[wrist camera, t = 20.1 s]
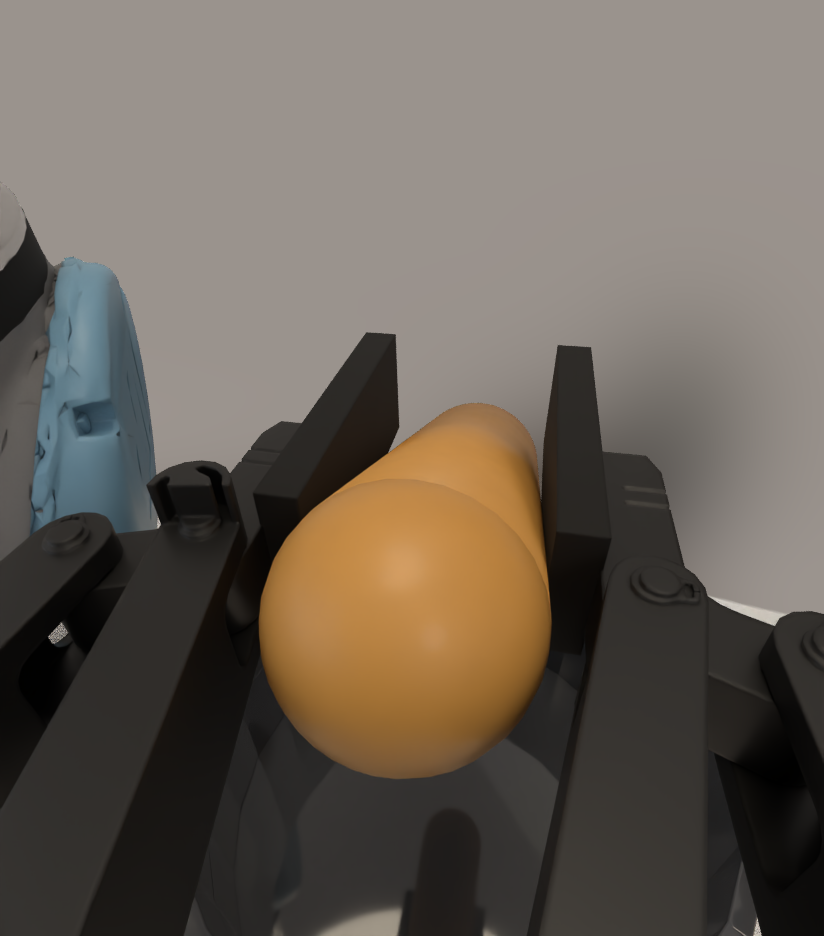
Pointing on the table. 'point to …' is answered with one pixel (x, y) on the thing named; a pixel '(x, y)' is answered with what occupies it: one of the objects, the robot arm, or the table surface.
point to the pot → (408, 834)
